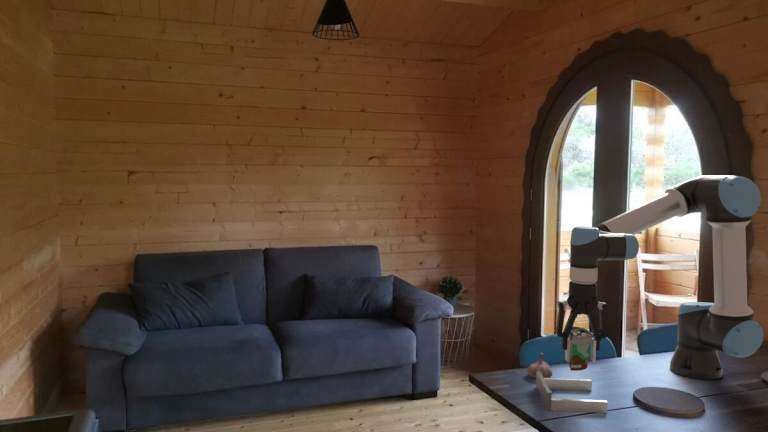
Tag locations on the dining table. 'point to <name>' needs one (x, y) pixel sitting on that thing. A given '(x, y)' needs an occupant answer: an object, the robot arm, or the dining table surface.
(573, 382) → the rail dock
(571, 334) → the food container
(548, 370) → the garlic bulb
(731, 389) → the dining table surface
